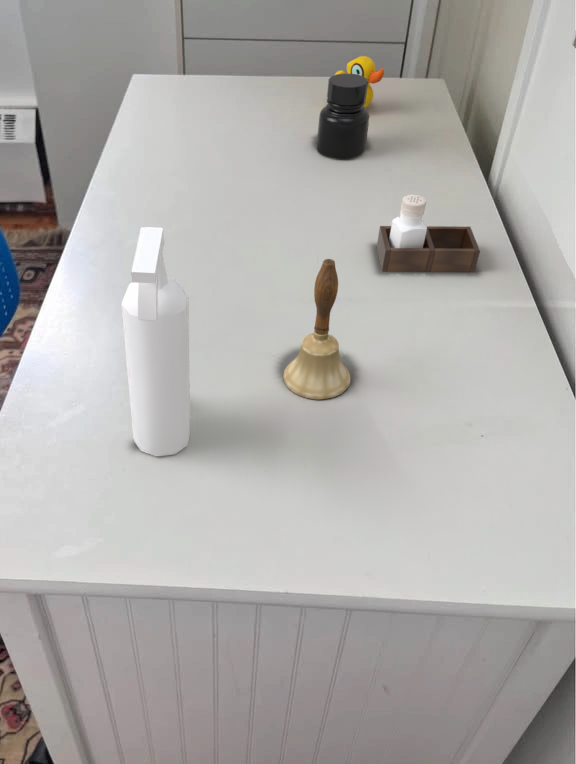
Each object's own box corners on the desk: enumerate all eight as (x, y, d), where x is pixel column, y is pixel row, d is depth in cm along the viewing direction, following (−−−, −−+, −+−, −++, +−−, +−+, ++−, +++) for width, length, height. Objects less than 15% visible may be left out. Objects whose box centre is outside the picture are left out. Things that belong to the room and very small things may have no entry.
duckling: (384, 114, 144) (393, 59, 137) (369, 122, 142) (376, 66, 134) (339, 99, 150) (345, 46, 142) (323, 107, 147) (328, 52, 140)
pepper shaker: (420, 267, 104) (434, 204, 97) (394, 270, 104) (406, 208, 97) (409, 253, 107) (422, 191, 100) (384, 256, 106) (395, 194, 99)
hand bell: (269, 374, 90) (275, 259, 78) (319, 349, 93) (332, 235, 81) (313, 409, 85) (327, 293, 73) (364, 382, 88) (385, 266, 77)
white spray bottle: (199, 398, 87) (191, 199, 68) (188, 470, 79) (176, 268, 60) (144, 395, 87) (122, 197, 69) (127, 467, 79) (97, 265, 61)
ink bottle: (374, 146, 134) (384, 77, 125) (355, 165, 129) (364, 93, 120) (326, 136, 137) (333, 67, 129) (306, 153, 132) (311, 83, 124)
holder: (462, 254, 108) (470, 226, 105) (472, 280, 103) (480, 251, 100) (375, 254, 109) (380, 225, 105) (380, 279, 104) (385, 250, 100)
